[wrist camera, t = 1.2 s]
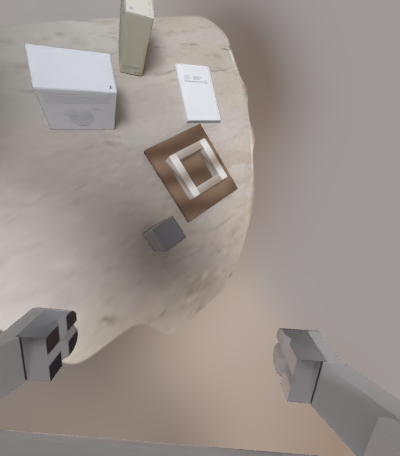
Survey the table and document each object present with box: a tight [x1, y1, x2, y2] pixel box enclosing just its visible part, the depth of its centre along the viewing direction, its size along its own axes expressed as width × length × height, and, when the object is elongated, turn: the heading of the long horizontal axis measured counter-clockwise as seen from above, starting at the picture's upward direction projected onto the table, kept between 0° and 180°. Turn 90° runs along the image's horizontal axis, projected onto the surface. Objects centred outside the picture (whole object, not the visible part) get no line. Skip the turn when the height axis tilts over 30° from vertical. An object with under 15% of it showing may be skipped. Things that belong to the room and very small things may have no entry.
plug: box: [143, 216, 186, 251], centre depth 40 cm, size 4×4×9 cm
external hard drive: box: [174, 63, 221, 123], centre depth 50 cm, size 2×8×12 cm
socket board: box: [144, 124, 238, 222], centre depth 47 cm, size 16×14×4 cm
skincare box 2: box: [118, 0, 154, 76], centre depth 39 cm, size 6×4×12 cm
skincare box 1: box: [25, 44, 117, 129], centre depth 36 cm, size 10×6×10 cm, turn 102°
